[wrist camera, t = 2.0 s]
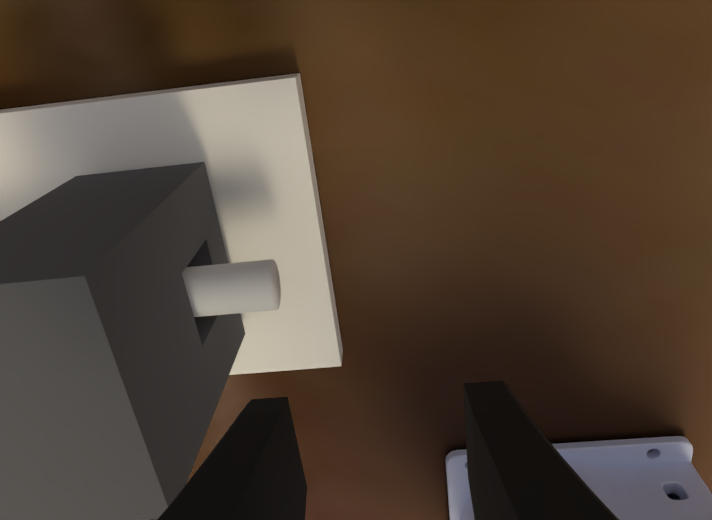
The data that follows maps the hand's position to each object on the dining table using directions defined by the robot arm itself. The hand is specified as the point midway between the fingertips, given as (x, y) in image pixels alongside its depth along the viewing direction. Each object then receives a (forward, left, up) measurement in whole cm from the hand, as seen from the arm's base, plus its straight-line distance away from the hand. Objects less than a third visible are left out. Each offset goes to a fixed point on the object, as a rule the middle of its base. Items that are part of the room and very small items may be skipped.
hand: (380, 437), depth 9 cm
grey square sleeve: (+7, 0, -9) cm, 11 cm away
